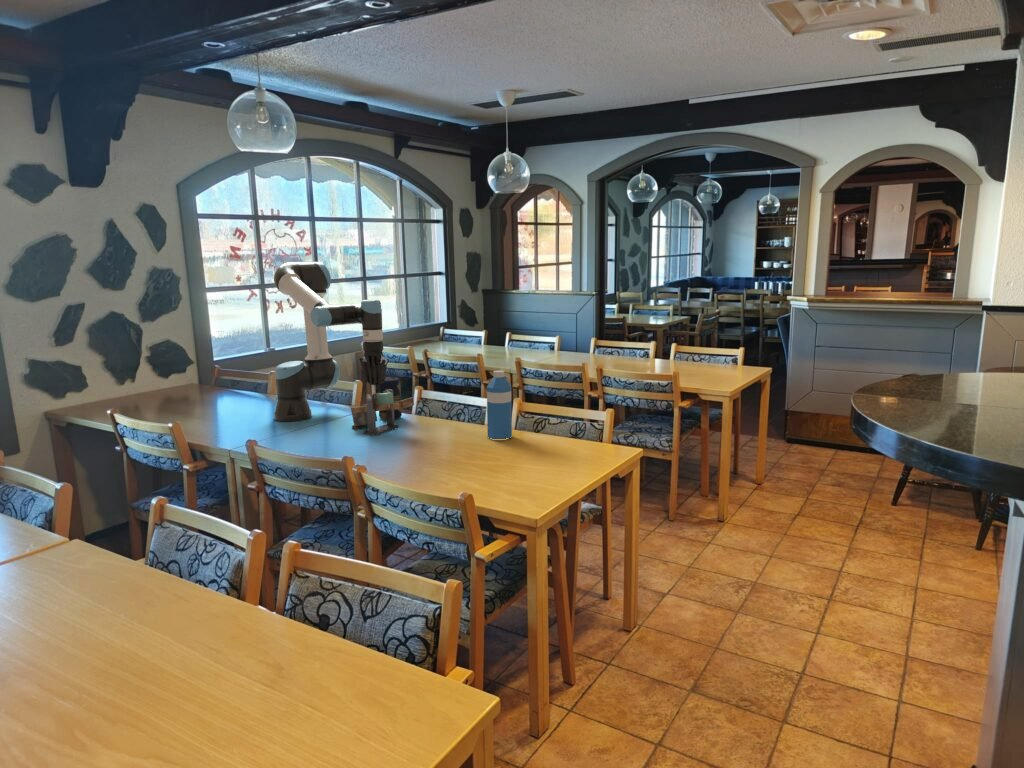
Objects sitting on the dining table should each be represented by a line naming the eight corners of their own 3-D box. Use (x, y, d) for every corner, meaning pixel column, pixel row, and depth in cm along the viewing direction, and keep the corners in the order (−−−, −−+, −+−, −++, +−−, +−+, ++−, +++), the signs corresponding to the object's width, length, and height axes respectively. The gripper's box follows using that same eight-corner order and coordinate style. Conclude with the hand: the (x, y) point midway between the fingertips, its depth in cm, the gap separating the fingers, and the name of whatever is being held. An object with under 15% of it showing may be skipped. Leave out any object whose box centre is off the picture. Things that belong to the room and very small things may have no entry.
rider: (375, 408, 262) (373, 395, 261) (382, 405, 265) (380, 393, 264) (387, 406, 258) (385, 394, 258) (394, 404, 262) (392, 392, 261)
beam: (352, 426, 266) (346, 397, 265) (368, 421, 274) (362, 393, 273) (403, 422, 252) (397, 391, 251) (418, 417, 260) (412, 387, 259)
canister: (399, 421, 279) (397, 378, 276) (376, 421, 279) (374, 378, 276) (403, 415, 289) (401, 374, 285) (381, 415, 289) (379, 374, 285)
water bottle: (482, 439, 251) (481, 372, 246) (494, 433, 259) (493, 368, 254) (504, 441, 247) (504, 374, 242) (516, 435, 255) (516, 370, 250)
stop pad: (352, 428, 268) (351, 425, 268) (364, 424, 274) (364, 422, 274) (357, 429, 266) (357, 426, 266) (369, 425, 272) (369, 422, 272)
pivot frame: (363, 433, 260) (361, 394, 257) (387, 425, 272) (385, 388, 269) (375, 435, 257) (373, 396, 254) (399, 427, 269) (397, 389, 266)
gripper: (353, 340, 259) (356, 401, 264) (379, 342, 253) (382, 404, 257) (366, 338, 266) (369, 397, 270) (392, 340, 259) (395, 400, 263)
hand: (376, 400), depth 263 cm, fingers closed
